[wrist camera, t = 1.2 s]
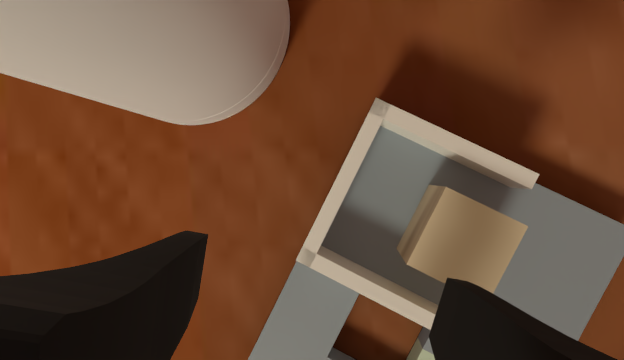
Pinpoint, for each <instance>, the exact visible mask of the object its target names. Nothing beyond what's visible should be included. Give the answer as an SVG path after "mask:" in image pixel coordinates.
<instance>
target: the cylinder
mask: <svg viewBox="0 0 624 360" xmlns="http://www.w3.org/2000/svg"><path fill="white" fill-rule="evenodd" d="M289 32H290V13H289V5H288V0H0V73H3V74H6V75H9V76H13V77H16V78H19V79H23V80H26V81H30V82H33V83H36V84H40V85H43V86H47V87H50V88H53V89H57V90H60V91H64V92H67V93H70V94H74V95H77V96H81V97H84V98H87V99H91V100H94V101H98V102H101V103H104V104H108V105H111V106H115V107H118V108H121V109H125V110H128V111H132V112H135V113H138V114H142V115H145V116H149V117H152V118H155V119H159V120H162V121H166V122H169V123H174V124H181V125H202V124H208V123H213V122H217V121H220V120H223V119H226V118H228V117H230V116H232V115H234V114H236V113H238V112H240V111H242V110H243V109H245V108H246V107H247V106H249V105H250V104H251V103H253V102H254V101H255V100H256V99H257V98H258V97H259V96H260V95H261V94H262V93H263V92H264V91H265V90H266V88H267V87H268V86H269V84H270V83H271V82H272V80H273V79H274V77H275V75H276V74H277V72H278V70H279V68H280V66H281V63H282V61H283V58H284V56H285V52H286V49H287V45H288V40H289Z"/></svg>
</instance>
